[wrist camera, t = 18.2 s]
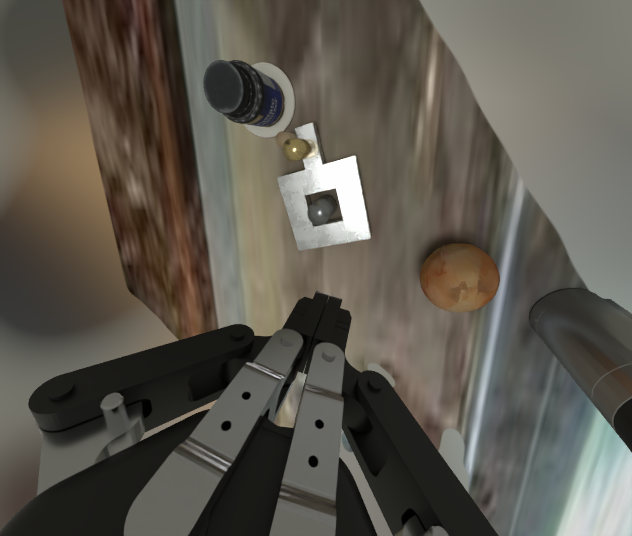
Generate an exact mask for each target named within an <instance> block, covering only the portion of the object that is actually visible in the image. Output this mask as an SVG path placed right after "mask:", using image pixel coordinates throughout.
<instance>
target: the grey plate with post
mask: <svg viewBox="0 0 632 536" xmlns="http://www.w3.org/2000/svg"><path fill="white" fill-rule="evenodd" d="M295 131H296V135H297V138H290V139H288V140H286V141H285V143H284V145H283V153H284V156H285V157H286V158H287V159H288V160H290V161H296V160H302V159H303V162H304V166H305V169H306V170H303V171H299V172H296V173H292V174H288V175H285V176H281V177H278V178H277V179H278V183H279V186H280V189H281V193H282V196H283V199H284V203H285V206H286V209H287V213H288V216H289V219H290V223H291V226H292V229H293V232H294V236H295V239H296V242H297V246H298V249H299V251H300V250H306V249H312V248H318V247H324V246H330V245H335V244H341V243H347V242H353V241H359V240H364V239H370V238H371V230H370V225H369V219H368V214H367V209H366V203H365V198H364V193H363V187H362V182H361V177H360V171H359V166H358V161H357V155H356V156H352V157H349V158H345V159H342V160H338V161H335V162H331V163H327V164H325V160H324V156H323V152H322V147H321V143H320V139H319V134H318V130H317V126H316V123H313V122H312V123H309V124H306V125H303V126H301V127H298V128H295ZM333 188H336V190H337V194H338V199H339V203H340V207H341V212H342V216H343V218H341V219H336V220H331V221H327V222H326V223H325V224H323V225H315V224H313V223H312V222H311V221H310V220H309V218H308V215H307V211H308V208H309V207H310V205H311V203H310V199H309V194H313V193H317V192H321V191H325V190H329V189H333Z"/></svg>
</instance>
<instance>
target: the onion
mask: <svg viewBox="0 0 632 536" xmlns="http://www.w3.org/2000/svg"><path fill="white" fill-rule="evenodd" d="M499 282H500V275H499V271H498V269H497V266H496V264H495V263H494V261H493V259H492V258H491V257H490V256H489V255H488V254H486V253H485V252H484V251H482V250H481V249H479V248H477V247H476V246H474V245H471V244H465V243H454V244H445V245H442V246H441V247H439V248H438V249H436V250H435V251H434V252H433V253H432V254H431V255H430V256H429V257H428V258H427V259H426V260H425V262H424V264H423V265H422V268H421V272H420V283H421V288H422V290H423V292H424V294H425V295H426V297H427V298H428V299H429V300H430V301H431V302H432V303H433V304H434V305H436V306H437V307H439V308H441V309H443V310H446V311H450V312H469V311H473V310H476V309H478V308H480V307H482V306H484V305H486V304H487V303H488V302H489V301H490V300H491V299H492V298H493V297H494V296H495V294H496V292H497V290H498V286H499Z"/></svg>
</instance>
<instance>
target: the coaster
mask: <svg viewBox="0 0 632 536" xmlns="http://www.w3.org/2000/svg"><path fill="white" fill-rule="evenodd" d="M252 67H254V68H255V69H257V70H259V71H260V72H262V73H264V74H265V75H267V76H268V77H270V78H272V79H274V80H275V81H276V82H277V83H278V85H279V86H280V87H281V89H282V91H283V94H284V99H285V101H284V112H283V115H282V117H281V119H280V120H279V121H278V122H277V123H276V124H275V125H273V126H271V127H260V126H254V125H247V124H244V126H245V127H246V128H247V129H248V130H249V131H250V132H252V133H253V134H255V135H257V136H260V137H266V138H270V137H275V136H276V135H277V134H278V133H279V132H284V131H285V130H286V129H287V127H288V126H289V125H290V123H291V121H292V119H293V116H294V112H295V94H294V90H293V87H292V84H291V82H290V80H289V79H288V77H287V76H286V74H285V73H284V72H283V71H282V70H280V69H279V68H278V67H276V66H274V65H272V64H269V63H256V64H254V65H252Z"/></svg>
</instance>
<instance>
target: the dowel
mask: <svg viewBox="0 0 632 536" xmlns="http://www.w3.org/2000/svg"><path fill="white" fill-rule="evenodd" d="M290 138H297V135H296V133H289V132H279V133H278V134H277V135H276V143H277V145H278V146H280V147H283V145H284V143H285V141H286V140H288V139H290Z"/></svg>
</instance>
